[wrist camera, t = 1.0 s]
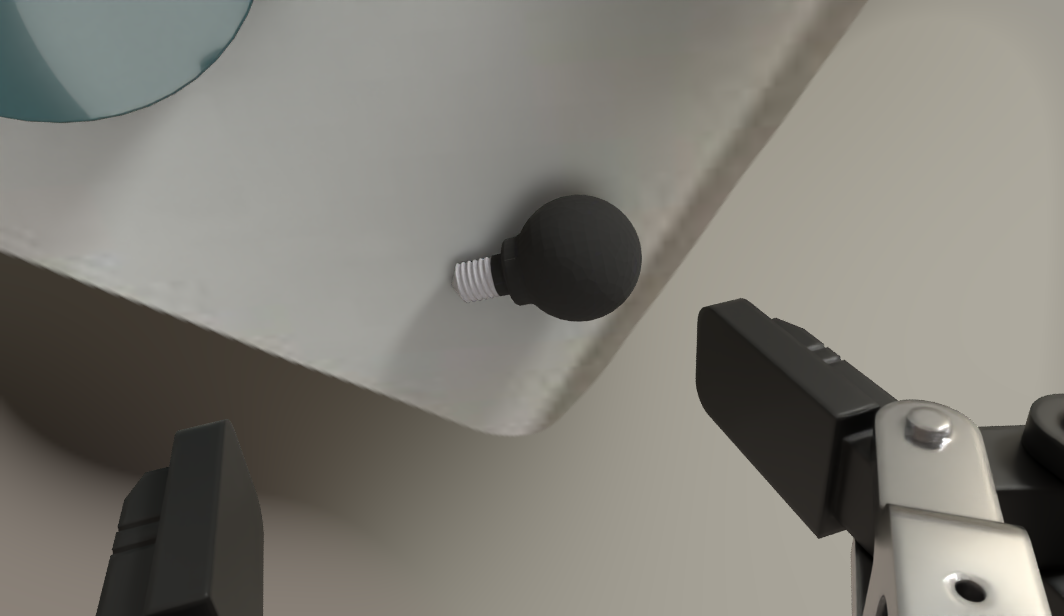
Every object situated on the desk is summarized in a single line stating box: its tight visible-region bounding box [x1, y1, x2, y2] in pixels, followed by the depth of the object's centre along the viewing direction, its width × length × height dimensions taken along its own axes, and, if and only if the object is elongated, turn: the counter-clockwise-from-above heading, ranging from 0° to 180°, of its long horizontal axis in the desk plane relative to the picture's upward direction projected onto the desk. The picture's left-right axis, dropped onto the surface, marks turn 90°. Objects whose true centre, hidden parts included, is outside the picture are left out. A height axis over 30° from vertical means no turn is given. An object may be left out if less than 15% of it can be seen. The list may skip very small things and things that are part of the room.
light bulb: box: [451, 195, 642, 321], centre depth 38 cm, size 6×6×10 cm
